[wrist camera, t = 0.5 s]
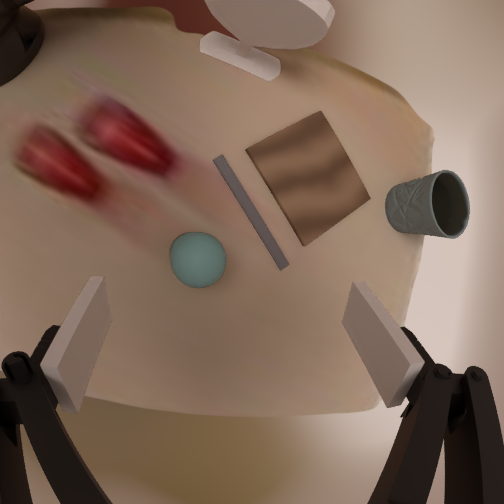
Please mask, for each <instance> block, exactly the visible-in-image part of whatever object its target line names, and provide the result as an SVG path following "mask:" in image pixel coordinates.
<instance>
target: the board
mask: <svg viewBox="0 0 504 504" xmlns="http://www.w3.org/2000/svg"><path fill="white" fill-rule="evenodd" d="M245 151H246V152H247V154H248V155H249V157H250V159H251V160H252V162H253V163H254V165H255V167H256V168H257V170H258V171H259V173H260V175H261V176H262V178H263V180H264V181H265V183H266V185H267V186H268V188H269V189H270V191H271V193H272V194H273V196H274V198H275V199H276V201H277V203H278V204H279V206H280V208H281V210H282V211H283V213H284V215H285V216H286V218H287V220H288V221H289V223H290V225H291V226H292V228H293V230H294V232H295V233H296V235H297V237H298V239H299V240H300V242H301V244H302V245H303V246H306V245H307V244H309V243H310V242H311V241H313V240H314V239H316V238H317V237H318V236H320V235H321V234H323V233H324V232H325V231H327V230H328V229H329V228H331V227H332V226H334V225H335V224H336V223H338V222H339V221H340V220H342V219H343V218H345V217H346V216H347V215H349V214H350V213H351V212H353V211H354V210H356V209H357V208H358V207H360V206H361V205H362V204H364V203H365V202H366V201H368V200H369V199H371V198H370V196H369V194H368V192H367V190H366V188H365V187H364V185H363V183H362V181H361V179H360V177H359V175H358V173H357V171H356V170H355V168H354V166H353V164H352V162H351V160H350V159H349V157H348V155H347V153H346V152H345V150H344V148H343V146H342V145H341V143H340V141H339V139H338V138H337V136H336V134H335V133H334V131H333V129H332V128H331V126H330V124H329V123H328V121H327V119H326V118H325V116H324V115H323V113H322V111H319V112H317V113H314V114H312V115H310V116H308V117H306V118H304V119H302V120H300V121H298V122H296V123H294V124H292V125H290V126H288V127H286V128H285V129H283V130H281V131H279V132H277V133H275V134H273V135H271V136H269V137H267V138H265V139H264V140H262V141H260V142H258V143H256V144H254V145H253V146H251V147H249V148H247V149H246V150H245Z"/></svg>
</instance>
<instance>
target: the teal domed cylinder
mask: <svg viewBox="0 0 504 504" xmlns="http://www.w3.org/2000/svg"><path fill="white" fill-rule="evenodd" d="M170 259H171V266H172V269H173V272H174V274H175V275H176V277H177V278H178V279H179V280H180V281H181V282H182V283H184V284H185V285H187V286H190V287H194V288H203V287H207V286H210V285H212V284H214V283H215V282H216V281H217V280H218V279H219V278H220V277H221V276H222V274H223V272H224V270H225V266H226V254H225V250H224V248H223V246H222V245H221V243H220V242H219V241H218V240H217V239H216V238H215V237H213V236H211V235H209V234H207V233H202V232H189V233H184V234H181V235H180V236H178V237H177V238H176V239H175V240H174V241H173V243H172V245H171V248H170Z"/></svg>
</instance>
